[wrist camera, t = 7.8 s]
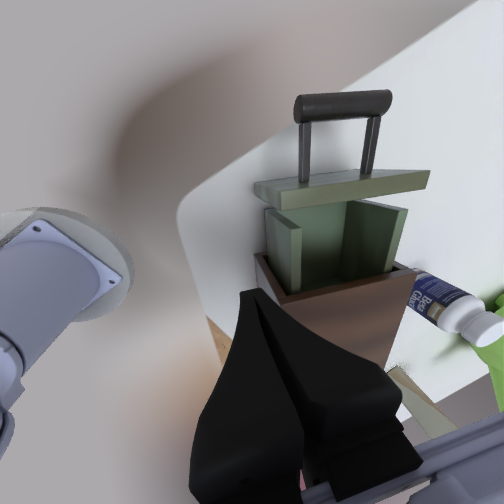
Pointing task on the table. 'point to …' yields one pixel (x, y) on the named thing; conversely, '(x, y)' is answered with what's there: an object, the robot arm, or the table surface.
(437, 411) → the box
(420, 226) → the table surface
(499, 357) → the teapot
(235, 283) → the table surface
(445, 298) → the pill bottle
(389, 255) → the drawer
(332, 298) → the cabinet
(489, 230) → the table surface
